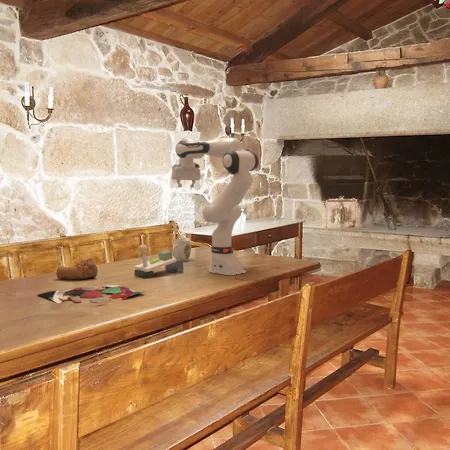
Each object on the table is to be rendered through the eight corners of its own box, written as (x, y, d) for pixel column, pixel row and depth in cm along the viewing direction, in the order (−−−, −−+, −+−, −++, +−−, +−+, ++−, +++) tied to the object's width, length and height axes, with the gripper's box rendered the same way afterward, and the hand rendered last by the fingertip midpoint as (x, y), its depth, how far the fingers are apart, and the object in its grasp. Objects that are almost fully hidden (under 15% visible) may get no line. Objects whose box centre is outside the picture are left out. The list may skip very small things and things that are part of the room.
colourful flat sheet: (102, 283, 238) (102, 280, 238) (145, 296, 215) (145, 292, 215) (36, 296, 212) (36, 292, 212) (78, 312, 189) (78, 307, 189)
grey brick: (183, 272, 264) (183, 260, 264) (145, 278, 248) (145, 265, 247) (170, 269, 273) (170, 257, 272) (133, 274, 257) (133, 262, 256)
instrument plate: (164, 258, 269) (160, 235, 266) (176, 261, 261) (173, 238, 258) (134, 268, 257) (130, 245, 254) (146, 272, 248) (142, 247, 245)
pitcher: (165, 261, 296) (165, 240, 294) (182, 257, 311) (182, 237, 309) (179, 263, 290) (179, 241, 288) (196, 259, 305) (196, 238, 304)
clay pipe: (87, 289, 239) (104, 274, 252) (83, 271, 235) (100, 257, 248) (57, 284, 246) (75, 271, 259) (53, 267, 242) (71, 253, 254)
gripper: (175, 163, 279) (175, 186, 279) (202, 165, 292) (202, 187, 293) (169, 164, 283) (169, 187, 284) (195, 166, 297) (195, 187, 298)
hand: (186, 187), depth 289 cm, fingers open, 8 cm apart
